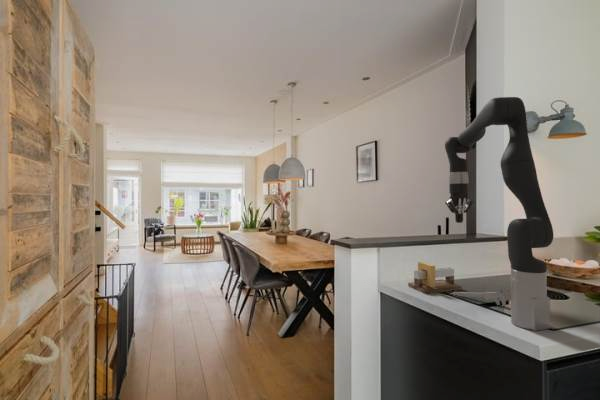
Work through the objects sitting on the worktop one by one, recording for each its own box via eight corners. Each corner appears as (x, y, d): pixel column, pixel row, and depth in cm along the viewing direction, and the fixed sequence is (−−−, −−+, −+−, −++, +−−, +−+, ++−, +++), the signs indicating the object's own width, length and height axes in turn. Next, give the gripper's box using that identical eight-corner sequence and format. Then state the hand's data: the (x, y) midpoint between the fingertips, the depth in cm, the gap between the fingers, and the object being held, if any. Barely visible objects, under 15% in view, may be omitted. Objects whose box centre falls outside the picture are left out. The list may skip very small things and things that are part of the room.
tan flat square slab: (435, 287, 140) (435, 265, 140) (431, 287, 140) (431, 266, 140) (422, 281, 149) (421, 261, 149) (418, 282, 149) (417, 261, 148)
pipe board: (461, 289, 142) (461, 278, 142) (425, 293, 137) (425, 282, 137) (442, 282, 154) (442, 272, 154) (408, 286, 149) (408, 275, 149)
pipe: (454, 276, 146) (454, 268, 146) (418, 279, 142) (418, 272, 141) (449, 274, 150) (448, 267, 149) (414, 278, 145) (413, 270, 145)
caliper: (505, 307, 121) (505, 290, 121) (504, 308, 120) (504, 290, 120) (451, 294, 137) (451, 279, 137) (449, 295, 136) (449, 279, 136)
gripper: (452, 182, 140) (452, 223, 140) (477, 182, 143) (478, 222, 144) (440, 183, 147) (440, 222, 147) (464, 183, 151) (465, 221, 151)
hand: (459, 222), depth 145 cm, fingers closed
